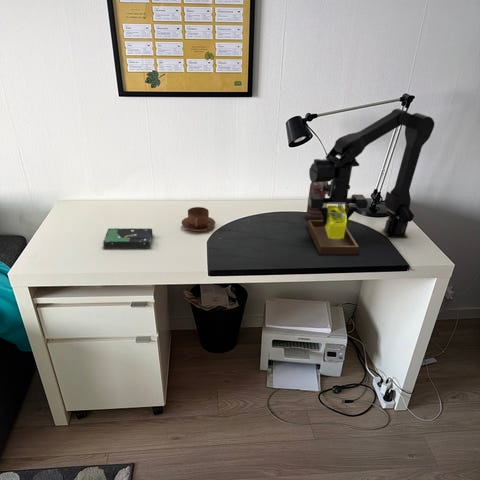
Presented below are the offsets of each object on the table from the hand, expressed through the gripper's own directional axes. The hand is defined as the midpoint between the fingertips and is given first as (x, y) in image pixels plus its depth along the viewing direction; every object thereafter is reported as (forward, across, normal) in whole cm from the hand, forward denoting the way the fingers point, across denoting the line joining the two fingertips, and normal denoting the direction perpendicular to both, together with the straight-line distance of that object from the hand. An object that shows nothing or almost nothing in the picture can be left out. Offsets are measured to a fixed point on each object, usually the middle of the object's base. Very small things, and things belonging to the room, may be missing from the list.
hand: (333, 225), depth 149 cm
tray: (+5, 0, 0) cm, 5 cm away
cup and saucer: (+5, +46, -10) cm, 48 cm away
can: (+6, +2, -18) cm, 19 cm away
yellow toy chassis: (+2, 0, 0) cm, 2 cm away
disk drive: (+5, +69, +2) cm, 69 cm away
